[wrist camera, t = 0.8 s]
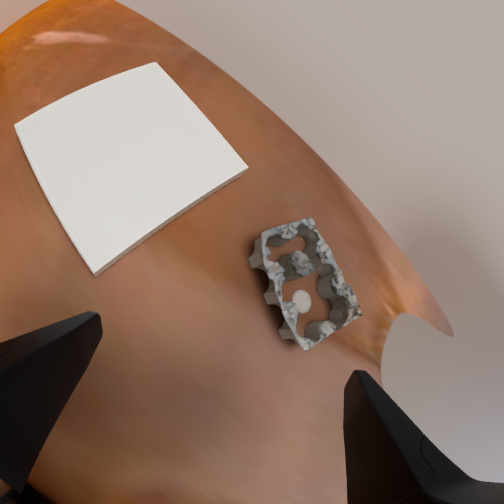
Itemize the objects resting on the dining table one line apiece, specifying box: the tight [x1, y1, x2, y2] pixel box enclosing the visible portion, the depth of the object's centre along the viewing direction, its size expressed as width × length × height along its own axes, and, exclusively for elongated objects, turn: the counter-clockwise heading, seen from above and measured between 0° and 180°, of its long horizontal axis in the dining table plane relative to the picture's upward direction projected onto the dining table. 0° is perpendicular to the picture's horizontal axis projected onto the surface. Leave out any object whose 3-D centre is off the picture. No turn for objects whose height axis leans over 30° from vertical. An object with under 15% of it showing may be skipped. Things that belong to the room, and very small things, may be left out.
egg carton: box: [248, 217, 362, 351], centre depth 25 cm, size 11×8×4 cm
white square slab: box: [14, 62, 248, 277], centre depth 21 cm, size 16×16×2 cm
